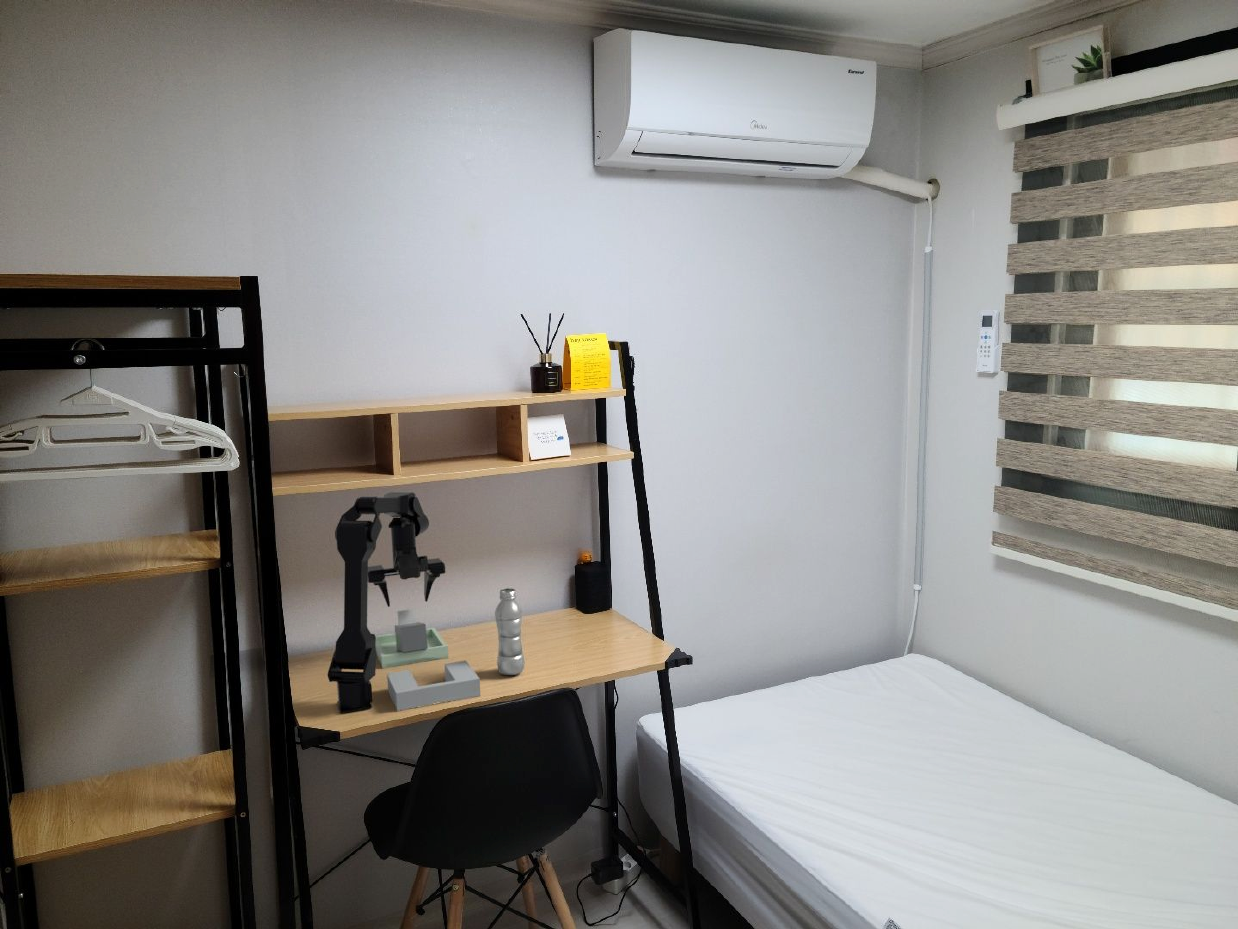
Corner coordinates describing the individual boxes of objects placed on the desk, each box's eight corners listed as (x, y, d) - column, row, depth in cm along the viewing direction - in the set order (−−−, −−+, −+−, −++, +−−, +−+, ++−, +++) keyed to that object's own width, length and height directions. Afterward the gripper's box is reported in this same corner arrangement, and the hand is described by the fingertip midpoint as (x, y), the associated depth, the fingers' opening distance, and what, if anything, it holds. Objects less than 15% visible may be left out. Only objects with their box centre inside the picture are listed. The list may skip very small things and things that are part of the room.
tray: (382, 668, 215) (381, 656, 215) (372, 648, 230) (371, 636, 229) (448, 657, 221) (447, 646, 221) (435, 638, 236) (434, 627, 235)
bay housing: (397, 711, 190) (396, 693, 190) (387, 690, 202) (386, 673, 201) (480, 696, 197) (479, 678, 197) (466, 676, 209) (465, 660, 208)
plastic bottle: (499, 680, 206) (495, 595, 203) (495, 669, 212) (491, 588, 210) (527, 676, 208) (524, 592, 205) (522, 666, 214) (518, 585, 211)
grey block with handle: (402, 652, 216) (399, 613, 217) (396, 649, 225) (393, 611, 226) (427, 648, 218) (423, 609, 219) (420, 645, 227) (417, 608, 228)
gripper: (369, 554, 210) (373, 618, 212) (448, 544, 217) (452, 607, 219) (363, 544, 220) (367, 605, 222) (438, 535, 227) (442, 595, 229)
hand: (407, 603), depth 223 cm, fingers open, 9 cm apart
